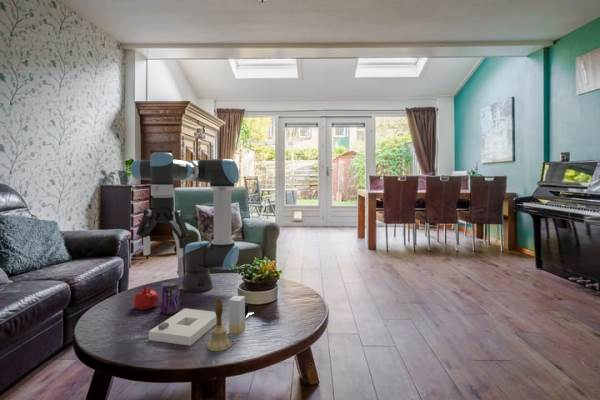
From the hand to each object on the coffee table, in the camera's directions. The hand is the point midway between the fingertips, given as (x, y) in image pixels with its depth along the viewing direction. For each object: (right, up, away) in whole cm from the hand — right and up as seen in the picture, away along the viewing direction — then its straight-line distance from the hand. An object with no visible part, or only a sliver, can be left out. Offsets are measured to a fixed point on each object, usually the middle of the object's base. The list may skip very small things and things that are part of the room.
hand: (163, 256), depth 126 cm
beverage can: (-5, -27, +20) cm, 34 cm away
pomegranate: (-17, -26, +25) cm, 40 cm away
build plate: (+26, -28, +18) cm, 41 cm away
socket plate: (+7, -28, +4) cm, 29 cm away
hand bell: (+22, -29, -8) cm, 37 cm away
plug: (+26, -28, +3) cm, 38 cm away
